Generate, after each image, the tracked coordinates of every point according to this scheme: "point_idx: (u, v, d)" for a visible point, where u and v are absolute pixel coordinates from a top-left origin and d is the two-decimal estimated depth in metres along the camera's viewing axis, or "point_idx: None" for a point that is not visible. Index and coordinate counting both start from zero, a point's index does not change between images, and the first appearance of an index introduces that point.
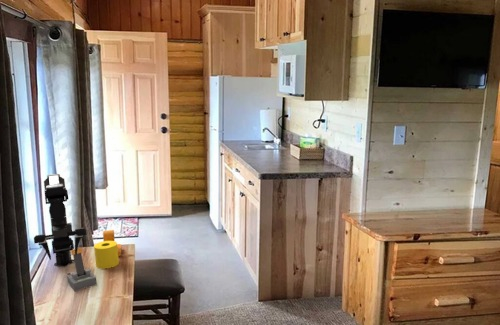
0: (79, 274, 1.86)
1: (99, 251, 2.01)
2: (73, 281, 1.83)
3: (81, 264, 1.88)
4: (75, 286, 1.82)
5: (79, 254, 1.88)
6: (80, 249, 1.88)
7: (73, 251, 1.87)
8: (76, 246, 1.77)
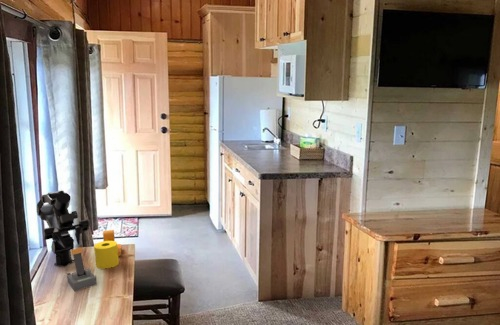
0: (79, 274, 1.86)
1: (99, 251, 2.01)
2: (73, 281, 1.83)
3: (81, 264, 1.88)
4: (75, 286, 1.82)
5: (79, 254, 1.88)
6: (80, 249, 1.88)
7: (73, 251, 1.87)
8: (78, 236, 1.96)
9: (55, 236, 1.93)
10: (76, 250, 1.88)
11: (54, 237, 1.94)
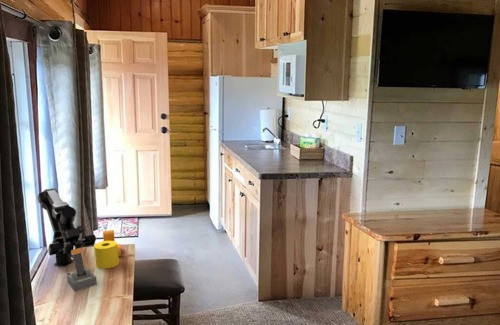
0: (79, 274, 1.86)
1: (99, 251, 2.01)
2: (73, 281, 1.83)
3: (81, 264, 1.88)
4: (75, 286, 1.82)
5: (79, 254, 1.88)
6: (80, 249, 1.88)
7: (73, 251, 1.87)
8: None
9: (67, 250, 1.90)
10: (76, 250, 1.87)
11: (66, 251, 1.90)
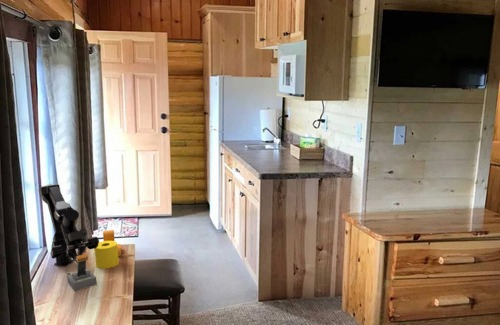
0: (79, 275, 1.86)
1: (99, 251, 2.01)
2: (73, 281, 1.83)
3: (83, 268, 1.85)
4: (75, 286, 1.82)
5: (84, 261, 1.83)
6: (86, 258, 1.82)
7: (79, 260, 1.81)
8: None
9: (70, 253, 1.87)
10: (82, 259, 1.81)
11: (69, 254, 1.87)
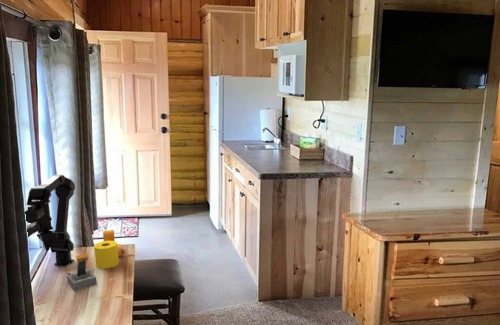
0: (79, 275, 1.86)
1: (99, 251, 2.01)
2: (73, 281, 1.83)
3: (83, 268, 1.85)
4: (75, 286, 1.82)
5: (84, 261, 1.83)
6: (86, 258, 1.82)
7: (79, 260, 1.81)
8: (43, 244, 1.92)
9: None
10: (82, 259, 1.81)
11: None
